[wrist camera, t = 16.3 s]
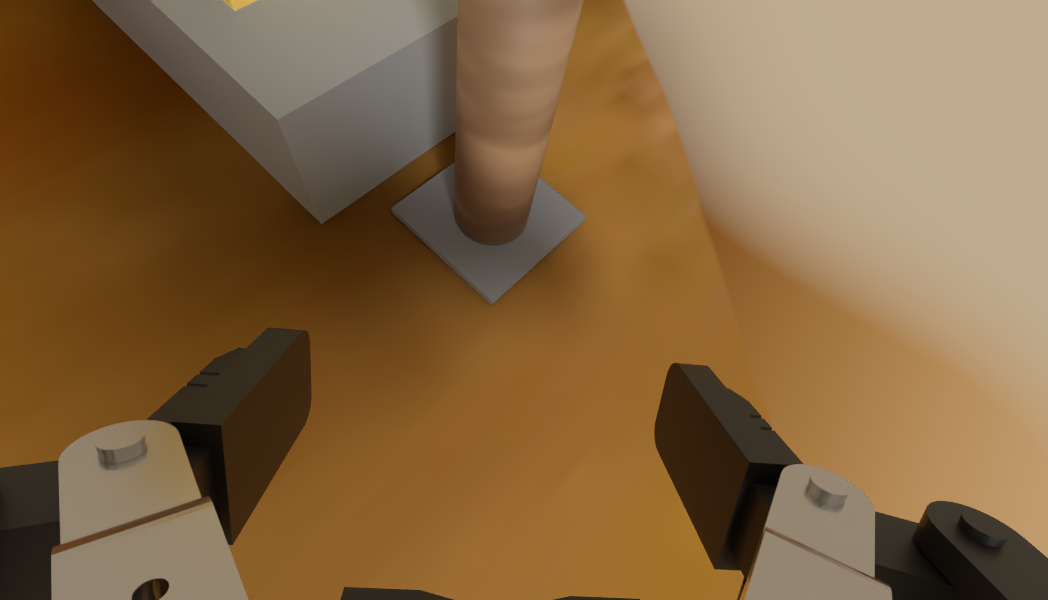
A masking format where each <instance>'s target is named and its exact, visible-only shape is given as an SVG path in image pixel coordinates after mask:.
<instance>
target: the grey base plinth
mask: <svg viewBox="0 0 1048 600" xmlns="http://www.w3.org/2000/svg"><path fill="white" fill-rule="evenodd" d="M92 1H93V2H94V3H95V4H96V5H97V6H98V7H99V8H100V9H101V10H102V11H103V12H104V13H105V14H106V15H107V16H108V17H109V18H110V19H111V20H112V21H113V22H115V23H116V24H117V25H118V26H119V27H120V28H121V29H122V30H123V31H124V32H125V33H126V34H127V35H128V36H129V37H130V38H131V39H132V40H133V41H134V42H135V43H136V44H137V45H138V46H139V47H140V48H141V49H142V50H143V51H144V52H145V53H146V54H147V55H148V56H149V57H150V58H151V59H152V60H153V61H155V62H156V63H157V64H158V65H159V66H160V67H161V68H162V69H163V70H164V71H165V72H166V73H167V74H168V75H169V76H170V77H171V78H172V79H173V80H174V81H175V82H176V83H177V84H178V85H179V86H180V87H181V88H182V89H183V90H184V91H185V92H186V93H187V94H188V95H189V96H190V97H191V98H192V99H193V100H195V101H196V102H197V103H198V104H199V105H200V106H201V107H202V108H203V109H204V110H205V111H206V112H207V113H208V114H209V115H210V116H211V117H212V118H213V119H214V120H215V121H216V122H217V123H218V124H219V125H220V126H221V127H222V128H223V129H224V130H225V131H226V132H227V133H228V134H229V135H230V136H231V137H232V138H233V139H235V140H236V141H237V142H238V143H239V144H240V145H241V146H242V147H243V148H244V149H245V150H246V151H247V152H248V153H249V154H250V155H251V156H252V157H253V158H254V159H255V160H256V161H257V162H258V163H259V164H260V165H261V166H262V167H263V168H264V169H265V170H266V171H267V172H268V173H269V174H270V175H271V176H272V177H273V178H275V179H276V180H277V181H278V182H279V183H280V184H281V185H282V186H283V187H284V188H285V189H286V190H287V191H288V192H289V193H290V194H291V195H292V196H293V197H294V198H295V199H296V200H297V201H298V202H299V203H300V204H301V205H302V206H303V207H304V208H305V209H306V210H307V211H308V212H309V213H310V214H311V215H312V216H313V217H315V218H316V219H317V220H318V221H319V222H320V223H321V224H323V223H324V222H326V221H327V220H328V219H330V218H331V217H333V216H334V215H336V214H337V213H339V212H340V211H341V210H343V209H344V208H346V207H347V206H349V205H350V204H352V203H353V202H354V201H356V200H357V199H359V198H360V197H362V196H363V195H365V194H366V193H367V192H369V191H370V190H372V189H373V188H375V187H376V186H378V185H379V184H380V183H382V182H383V181H385V180H386V179H388V178H389V177H391V176H392V175H393V174H395V173H396V172H398V171H399V170H401V169H402V168H404V167H405V166H406V165H408V164H409V163H411V162H412V161H414V160H415V159H417V158H418V157H419V156H421V155H422V154H424V153H425V152H427V151H428V150H430V149H431V148H432V147H434V146H435V145H437V144H438V143H440V142H441V141H443V140H444V139H445V138H447V137H448V136H450V135H451V134H453V133H454V132H456V73H457V12H458V0H92Z"/></svg>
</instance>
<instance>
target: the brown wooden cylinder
mask: <svg viewBox="0 0 1048 600" xmlns="http://www.w3.org/2000/svg"><path fill="white" fill-rule="evenodd" d="M582 4H583V0H458V12H457V73H456V135H455V196H454V216H455V221H456V223H457V225H458V227H459V229H460V230H461V232H462V233H463V234H464V235H465V236H467V237H468V238H469V239H471V240H473V241H475V242H477V243H480V244H483V245H490V246H497V245H503V244H507V243H509V242H511V241H513V240H515V239H516V238H518V237H519V236H520V235H521V234H522V232H523V231H524V229H525V227H526V225H527V221H528V217H529V213H530V209H531V206H532V202H533V198H534V194H535V190H536V186H537V182H538V178H539V174H540V170H541V166H542V162H543V158H544V154H545V150H546V146H547V142H548V138H549V134H550V130H551V126H552V122H553V118H554V115H555V111H556V107H557V103H558V99H559V95H560V91H561V87H562V83H563V79H564V75H565V71H566V67H567V63H568V59H569V55H570V51H571V47H572V43H573V39H574V35H575V31H576V27H577V23H578V20H579V16H580V12H581V8H582Z"/></svg>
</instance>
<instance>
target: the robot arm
mask: <svg viewBox="0 0 1048 600" xmlns="http://www.w3.org/2000/svg"><path fill="white" fill-rule="evenodd" d="M310 405H311V363H310V339H309V335H308V333H307V331H302V330H291V329H279V328H267V329H266V330H265V331H264V332H263V333H262V334H261V335H260V336H259V337H258V338H257V339H256V340H255V341H254V342H253V343H251V344H250V345H249V346H248V347H247V348H237V349H235V350H233V351H231V352H229V353H226V354H224V355H222V356H220V357H217V358H215V359H214V360H213V361H212V362H211V363H210V364H209V365H207V366H206V367H205V368H204V369H203V370H202V371H201V372H200V375H196V376H195V377H194V378H193V379H192V380H191V381H189V382H188V383H187V386H184V387H183V388H182V389H180V390H179V391H178V392H177V393H176V394H175V395H174V396H173V397H171V398H170V399H169V400H168V401H167V402H166V403H165V404H164V405H162V406H161V407H160V408H159V409H158V410H157V411H156V412H155V413H153V414H152V415H151V416H150V417H149V418H148V419H147V420H136V421H128V422H123V423H118V424H114V425H110V426H107V427H104V428H101V429H98V430H96V431H93V432H91V433H89V434H87V435H85V436H83V437H81V438H79V439H78V440H76V441H75V442H73V443H72V444H71V445H70V446H68V447H67V448H66V449H65V450H64V452H63V453H62V454H61V456H60V458H59V461H52V462H44V463H36V464H28V465H20V466H11V467H3V468H0V600H248V597H247V594H246V592H245V589H244V586H243V584H242V581H241V578H240V575H239V573H238V570H237V567H236V565H235V562H234V559H233V557H232V554H231V551H230V548H229V546H228V545H233V543H234V542H235V540H236V538H237V537H238V535H239V533H240V532H241V530H242V528H243V527H244V525H245V523H246V522H247V520H248V518H249V517H250V515H251V513H252V512H253V510H254V508H255V507H256V505H257V503H258V502H259V500H260V498H261V497H262V495H263V493H264V492H265V490H266V488H267V487H268V485H269V483H270V482H271V480H272V478H273V477H274V475H275V473H276V472H277V470H278V468H279V467H280V465H281V463H282V462H283V460H284V458H285V457H286V455H287V453H288V452H289V450H290V449H291V447H292V445H293V444H294V442H295V440H296V439H297V437H298V435H299V434H300V432H301V430H302V429H303V427H304V425H305V423H306V421H307V418H308V415H309V410H310ZM655 444H656V448H657V450H658V453H659V455H660V457H661V459H662V461H663V463H664V465H665V467H666V469H667V471H668V473H669V475H670V478H671V480H672V482H673V484H674V486H675V488H676V490H677V492H678V494H679V496H680V498H681V500H682V502H683V505H684V507H685V509H686V511H687V513H688V515H689V517H690V519H691V521H692V523H693V525H694V527H695V529H696V531H697V534H698V536H699V538H700V540H701V542H702V544H703V546H704V548H705V550H706V552H707V554H708V556H709V558H710V561H711V563H712V565H713V567H714V569H723V570H741V571H742V573H743V575H744V579H743V582H742V585H741V587H740V590H739V593H738V596H737V599H736V600H1048V558H1047V557H1046V556H1044V555H1043V554H1042V553H1041V552H1040V551H1039V550H1037V549H1036V548H1035V547H1034V546H1033V545H1032V544H1030V543H1029V542H1028V541H1027V540H1025V538H1023V537H1022V536H1021V535H1019V534H1018V533H1017V532H1016V531H1014V530H1013V529H1011V528H1010V527H1008V526H1007V525H1005V524H1004V523H1002V522H1000V521H999V520H997V519H995V518H993V517H991V516H989V515H987V514H985V513H983V512H981V511H978V510H976V509H973V508H971V507H968V506H965V505H962V504H957V503H953V502H947V501H936V502H932V503H930V504H929V505H928V506H927V508H926V510H925V512H924V514H923V516H922V518H921V520H920V522H919V523H915V522H912V521H908V520H904V519H900V518H897V517H893V516H890V515H886V514H882V513H879V512H875V509H874V506H873V504H872V502H871V500H870V499H869V497H868V496H867V495H866V494H865V493H864V492H863V491H862V490H860V489H859V488H858V487H857V486H856V485H854V484H853V483H851V482H850V481H848V480H846V479H845V478H843V477H841V476H839V475H837V474H835V473H833V472H831V471H828V470H825V469H823V468H819V467H816V466H811V465H804V464H803V463H802V462H801V461H800V460H799V459H798V457H797V456H796V455H795V454H794V453H793V452H792V450H791V449H790V448H789V447H788V446H787V445H786V444H785V442H784V441H783V440H782V439H781V438H780V437H779V436H778V434H777V433H776V432H775V431H772V428H771V426H770V425H769V424H768V423H767V422H766V421H765V420H764V419H761V415H760V414H759V413H758V412H757V410H756V409H755V408H754V407H753V406H752V405H751V404H750V402H749V401H747V400H746V399H744V398H743V397H741V396H740V395H738V394H737V393H735V392H733V391H732V390H730V389H727V388H726V387H725V386H724V385H723V383H722V382H721V381H720V380H719V379H718V377H717V376H716V375H715V374H714V373H713V371H712V370H711V369H710V368H709V367H708V366H704V365H692V364H680V363H673V364H672V365H671V366H670V368H669V370H668V373H667V377H666V381H665V385H664V389H663V393H662V397H661V401H660V405H659V409H658V414H657V418H656V422H655ZM341 600H453V599H449V598H446V597H442V596H439V595H435V594H432V593H428V592H424V591H421V590H402V589H377V588H352V587H344V590H343V594H342V597H341ZM555 600H640V599H627V598H602V597H577V596H569V597H564V598H559V599H555Z"/></svg>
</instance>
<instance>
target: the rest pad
mask: <svg viewBox="0 0 1048 600" xmlns="http://www.w3.org/2000/svg"><path fill="white" fill-rule="evenodd" d="M454 196H455V162H454V163H452V164H451V165H450V166H448V167H447V168H445V169H444V170H443V171H441V172H440V173H438V174H437V175H436V176H434V177H433V178H432V179H430V180H429V181H427V182H426V183H425V184H423V185H422V186H420V187H419V188H418V189H416V190H415V191H414V192H412V193H411V194H409V195H408V196H407V197H405V198H404V199H402V200H401V201H400V202H398V203H397V204H396V205H394V206H393V207H391V210H392V213H393V214H394V215H395V216H396V217H397V218H398V219H399V220H400V221H401V222H402V223H403V224H404V225H405V226H407V227H408V228H409V229H410V230H411V231H412V232H413V233H414V234H415V235H416V236H417V237H418V238H419V239H421V240H422V241H423V242H424V243H425V244H426V245H427V246H428V247H429V248H430V249H431V250H432V251H433V252H435V253H436V254H437V255H438V256H439V257H440V258H441V259H442V260H443V261H444V262H445V263H446V264H447V265H448V266H450V267H451V268H452V269H453V270H454V271H455V272H456V273H457V274H458V275H459V276H460V277H461V278H462V279H464V280H465V281H466V282H467V283H468V284H469V285H470V286H471V287H472V288H473V289H474V290H475V291H476V292H478V293H479V294H480V295H481V296H482V297H483V298H484V299H485V300H486V301H487V302H488V303H489V304H490V305H492V304H493V303H494V302H496V301H497V300H498V299H499V298H500V297H501V296H502V295H503V294H504V293H505V292H507V291H508V290H509V289H510V288H511V287H512V286H513V285H514V284H515V283H517V282H518V281H519V280H520V279H521V278H522V277H523V276H524V275H525V274H526V273H528V272H529V271H530V270H531V269H532V268H533V267H534V266H535V265H536V264H538V263H539V262H540V261H541V260H542V259H543V258H544V257H545V256H546V255H547V254H549V253H550V252H551V251H552V250H553V249H554V248H555V247H556V246H557V245H559V244H560V243H561V242H562V241H563V240H564V239H565V238H566V237H567V236H568V235H570V234H571V233H572V232H573V231H574V230H575V229H576V228H577V227H578V226H580V225H581V224H582V223H583V222H584V220H585V218H586V216H585V215H584V214H583V213H582V212H580V211H579V210H578V209H577V208H576V207H574V206H573V205H572V204H571V203H570V202H568V201H567V200H566V199H565V198H564V197H562V196H561V195H560V194H559V193H558V192H557V191H555V190H554V189H553V188H552V187H551V186H549V185H548V184H547V183H546V182H545V181H543V180H542V179H541V178H540V177H539V178H538V182H537V186H536V190H535V194H534V198H533V202H532V206H531V209H530V213H529V217H528V221H527V225H526V227H525V229H524V231H523V232H522V234H521V235H520V236H519V237H518V238H516V239H515V240H513V241H511V242H509V243H507V244H503V245H497V246H490V245H483V244H480V243H477V242H475V241H473V240H471V239H469V238H468V237H467V236H465V235H464V234H463V233H462V232H461V230H460V229H459V227H458V225H457V223H456V221H455V216H454Z"/></svg>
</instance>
